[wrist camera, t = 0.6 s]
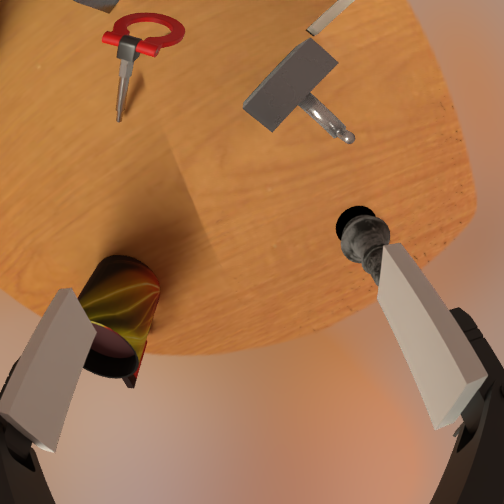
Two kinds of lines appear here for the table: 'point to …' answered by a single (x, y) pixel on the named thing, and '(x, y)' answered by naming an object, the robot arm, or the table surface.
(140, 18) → the tow hook
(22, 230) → the table surface
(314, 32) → the corral
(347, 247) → the chess piece
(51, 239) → the table surface
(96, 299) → the mug
